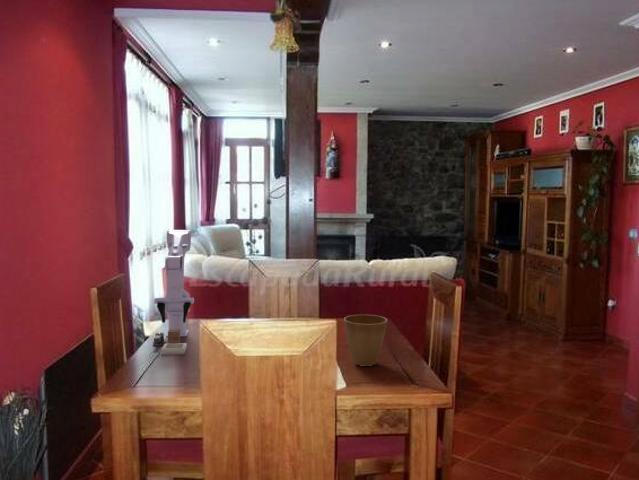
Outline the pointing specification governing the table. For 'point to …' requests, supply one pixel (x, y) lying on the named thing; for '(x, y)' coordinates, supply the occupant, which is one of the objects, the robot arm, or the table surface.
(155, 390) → the table surface
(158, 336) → the crank
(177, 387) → the table surface
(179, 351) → the tray
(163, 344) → the crank base
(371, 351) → the plant pot
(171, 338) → the block
